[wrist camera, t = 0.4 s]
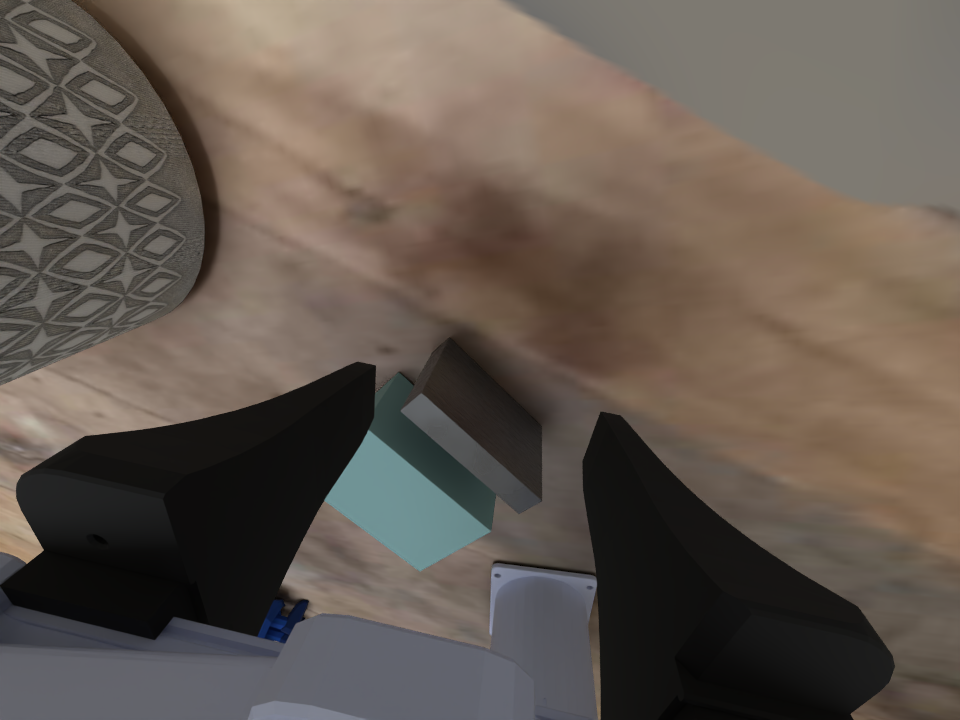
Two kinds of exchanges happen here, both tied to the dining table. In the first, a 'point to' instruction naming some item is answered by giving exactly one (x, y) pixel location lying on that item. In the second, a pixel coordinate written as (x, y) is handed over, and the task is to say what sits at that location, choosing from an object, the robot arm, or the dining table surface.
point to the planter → (85, 190)
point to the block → (411, 487)
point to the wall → (478, 425)
